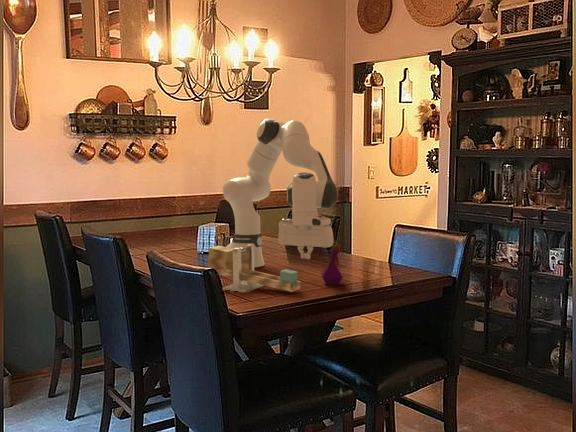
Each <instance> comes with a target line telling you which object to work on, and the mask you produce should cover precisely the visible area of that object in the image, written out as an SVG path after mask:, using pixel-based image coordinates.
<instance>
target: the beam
mask: <svg viewBox="0 0 576 432" xmlns="http://www.w3.org/2000/svg"><path fill="white" fill-rule="evenodd" d="M249 259H250V251H249V250H245V251H241V273H242V281H248V282H252V283H256V284H261V285H265V286H264V287H269V288H274V289H276V290H282V291H287V292H290V293H293V292H295V291H298V290H300V289H301V280H297V282H295V283H293V284H290V283H286V282H281V281H279V278H280V275H279V276H278V275H274V274H269V273H265V272H261V271H257V270H254V271H253V270H249ZM208 268H214V269H215V270H216V271H217V272H218V273H219V274H218V275H220V276H224V277H227V278H231V279H233V249H232V248H228V247H227V246H222V245H215V246H211V247H209V248H208V259H207V269H208Z"/></svg>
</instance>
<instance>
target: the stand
mask: <svg viewBox="0 0 576 432" xmlns="http://www.w3.org/2000/svg"><path fill="white" fill-rule="evenodd" d="M245 250H249V251H250V259H249V270H253V271H255V267H254V245H246V247H243V248H233V278H232V281H233V283H231V284H229V285H226V286H222V289H223V288H224V290H223V291H225V290H230V291H229V292H234V291H238V292H237V293H244V292H245V293H246V294H247V293H249V292H251V291H254V290H257V289H260V288H262V287H266V286H265V285H261V284H256V283H252V282H248V281H244V280H242V273H241V251H245ZM245 293H244V294H245Z"/></svg>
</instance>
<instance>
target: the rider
mask: <svg viewBox="0 0 576 432" xmlns="http://www.w3.org/2000/svg"><path fill="white" fill-rule="evenodd" d="M298 274H299V273H298V271H296V270H291V269H287V268H285V269H282V270H280V271H279V277H280V278H279V281H281V282H286V283H290V284H293V283H295V282H297V281H298Z"/></svg>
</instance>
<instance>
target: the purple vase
mask: <svg viewBox="0 0 576 432" xmlns="http://www.w3.org/2000/svg"><path fill="white" fill-rule="evenodd" d="M333 242H334V243H335V244H333V245H332V246H331V249H330V250H329V251H330V253H331V258H330V259H329V262H328V264H327V266H326V267H325V268H324V269H323V271H322V272H321V274H320V275H321V277H322V280H323V282H324V284H325V285H326V286H331V287H332V286H335V287H336V285H337V286H339V284H340V283H341V282H342V280H343V276H342V274H341V272H340V271H339V269H338V267H337V263H336V260H337V256H338V255H339V253H341V252H342V250H341V249H340V247H341V244H337V242H336V239H334V238H333Z"/></svg>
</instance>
